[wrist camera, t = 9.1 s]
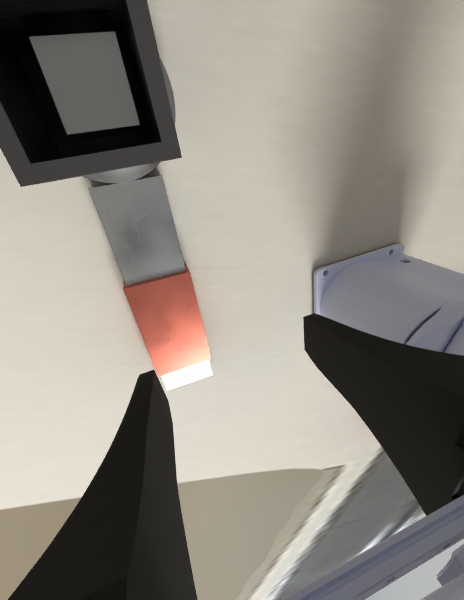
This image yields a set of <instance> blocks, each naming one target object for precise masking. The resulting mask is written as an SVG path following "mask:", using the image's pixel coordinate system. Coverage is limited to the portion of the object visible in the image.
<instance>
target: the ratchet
mask: <svg viewBox="0 0 464 600" xmlns="http://www.w3.org/2000/svg"><path fill="white" fill-rule="evenodd" d="M29 38H30V41H31V43H32V44H27V45H16V49H17V51H18V53H19V56H20V58H21V60H22V63H23V65H24V67H25V70H26V72H27V74H28V77H29V79H30V81H31V84H32V86H33V88H34V91H35V93H36V95H37V98H38V100H39V102H40V105H41V107H42V109H43V112H44V114H45V116H46V119H47V121H48V123H49V126H50V128H51V130H52V133H53V135H54V137H55V140H56V142H57V144H58V147H59V149H60V152H61V154H62V156H63V158H68V157H74V156H80V155H86V154H92V153H98V152H104V151H110V150H116V149H122V148H128V147H134V146H140V145H146V144H152V143H153V142H152V138H151V135H150V131H149V127H148V123H147V120H146V116H145V112H144V109H143V105H142V101H141V97H140V94H139V90H138V86H137V82H136V79H135V75H134V71H133V67H132V64H131V60H130V56H129V52H128V49H127V45H126V41H125V37H124V36H122V37H116V34H115V31H114V32H97V33H81V34H65V35H48V36H32V37H29ZM159 58H160V57H159ZM160 62H161V67H162V71H163V76H164V80H165V85H166V89H167V94H168V98H169V103H170V107H171V111H172V116H173V120H174V125H175V102H174V96H173V91H172V87H171V83H170V80H169V77H168V75H167V72H166V70H165V67H164V65H163V63H162V61H161V59H160ZM159 163H160V162H156V163H151V164H145V165H140V166H134V167H129V168H123V169H118V170H112V171H107V172H101V173H96V174H90V175H85V176H83V177H85V178H88V179H91V180H95V181H98V182H104V183H111V184H105V185H99V186H94V187H91V188H88V189H89V192H90V194H91V197H92V199H93V202H94V204H95V207H96V210H97V212H98V215H99V217H100V220H101V222H102V225H103V228H104V230H105V233H106V235H107V238H108V240H109V243H110V245H111V248H112V251H113V253H114V256H115V258H116V261H117V263H118V266H119V268H120V271H121V274H122V276H123V279H124V287H123V290H124V292H125V295H126V297H127V300H128V302H129V305H130V307H131V310H132V312H133V315H134V317H135V320H136V322H137V325H138V327H139V330H140V332H141V335H142V337H143V340H144V342H145V345H146V347H147V350H148V352H149V355H150V357H151V360H152V362H153V365H154V367H155V370H156V372H157V375H158V377H160V376H162V378H163V381H164V384H165V386H166V389H167V390H170V389H173V388H176V387H179V386H181V385H184V384H187V383H190V382H193V381H196V380H199V379H202V378H205V377H208V376H210V375H212V372H211V368H210V364H209V360H211V357H210V353H209V349H208V345H207V341H206V337H205V332H204V328H203V324H202V320H201V316H200V312H199V308H198V304H197V300H196V296H195V292H194V288H193V284H192V279H191V275H190V272H189V270H188V268H187V265H186V264H184V261H183V257H182V253H181V249H180V245H179V241H178V237H177V233H176V229H175V225H174V221H173V217H172V213H171V209H170V206H169V202H168V198H167V194H166V190H165V186H164V182H163V178H162V175H156V176H151V177H145V178H141V177H143V176H144V175H146V174H148V173H149V172H151V171H152V170H153V169H154V168H155V167H156V166H157V165H158V164H159ZM138 178H139V179H138Z"/></svg>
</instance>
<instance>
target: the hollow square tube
mask: <svg viewBox="0 0 464 600" xmlns="http://www.w3.org/2000/svg"><path fill="white" fill-rule="evenodd" d="M114 31H115V34H116V37H122V36H124V37H125V41H126V45H127V49H128V52H129V56H130V60H131V64H132V67H133V71H134V75H135V79H136V82H137V86H138V90H139V94H140V97H141V101H142V105H143V109H144V112H145V116H146V120H147V123H148V127H149V131H150V135H151V138H152V142H153V143H152V144H146V145H140V146H134V147H128V148H122V149H116V150H110V151H104V152H98V153H92V154H86V155H80V156H74V157H68V158H63V156H62V154H61V152H60V149H59V147H58V144H57V142H56V140H55V137H54V135H53V133H52V130H51V128H50V126H49V123H48V121H47V119H46V116H45V114H44V112H43V109H42V107H41V105H40V102H39V100H38V98H37V95H36V93H35V91H34V88H33V86H32V84H31V81H30V79H29V77H28V74H27V72H26V70H25V67H24V65H23V63H22V60H21V58H20V56H19V53H18V51H17V49H16V45H27V44H32V43H31V41H30V38H29V37H32V36H48V35H65V34H81V33H97V32H114ZM0 148H1V150H2V152H3V154H4V156H5V157H6V159H7V161H8V163H9V165H10V167H11V169H12V171H13V173H14V175H15V176H16V178H17V180H18V182H19V184H20V186H21V187H22V186H28V185H34V184H40V183H46V182H51V181H57V180H63V179H68V178H74V177H79V176H85V175H90V174H96V173H101V172H107V171H112V170H118V169H123V168H129V167H134V166H140V165H145V164H151V163H156V162H162V161H167V160H172V159H177V158H182V156H181V152H180V147H179V143H178V138H177V134H176V129H175V125H174V120H173V116H172V111H171V107H170V103H169V98H168V94H167V89H166V85H165V80H164V76H163V71H162V67H161V62H160V58H159V53H158V49H157V44H156V40H155V36H154V31H153V27H152V22H151V18H150V13H149V9H148V4H147V0H0Z"/></svg>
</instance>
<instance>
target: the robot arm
mask: <svg viewBox="0 0 464 600" xmlns="http://www.w3.org/2000/svg"><path fill="white" fill-rule="evenodd" d="M389 251H390V252H389ZM403 251H404V245H403V244H400V243H397V244H394V245H391V246H388V247H385V248H381V249H378V250H375V251H372V252H369V253H366V254H362V255H359V256H356V257H353V258H350V259H347V260H343V261H340V262H337V263H334V264H331V265H328V266H324V267H321V268H318V269H316V270H315V272H314V275H313V278H314V314H311V315H308V316H305V317H303V318H304V344H305V351H306V352H307V354H308V355H309V357H310V358H311V360H312V361H313V362H314V364H315V365H316V367H317V368H318V369H319V370H320V371H321V372H322V373H323V374H324V376H325V377H326V378H327V379H328V380H329V381H330V382H331V383H332V384H333V386H334V387H335V388H336V389H337V390H338V391H339V392H340V393H341V394H342V395H343V397H344V398H345V399H346V400H347V401H348V402H349V403H350V404H351V406H352V407H353V408H354V409H355V410H356V412H357V413H358V414H359V416H360V417H361V418H362V420H363V421H364V422H365V424H366V425H367V426H368V428H369V429H370V430H371V432H372V433H373V435H374V436H375V437H376V439H377V440H378V442H379V443H380V444H381V446H382V447H383V449H384V450H385V452H386V453H387V455H388V456H389V458H390V459H391V461H392V462H393V464H394V465H395V467H396V468H397V470H398V471H399V473H400V474H401V476H402V477H403V479H404V480H405V482H406V484H407V485H408V487H409V488H410V490H411V491H412V493H413V495H414V496H415V498H416V499H417V501H418V503H419V504H420V506H421V508H422V509H423V511H424V513H425V514H426V517H424V518H422V519H421V520H419V521H417V522H415V523H414V524H412V525H410V526H408V527H407V528H405V529H403V530H401V531H400V532H398V533H396V534H394V535H393V536H391V537H389V538H387V539H386V540H384V541H382V542H380V543H379V544H377V545H375V546H373V547H372V548H370V549H368V550H366V551H365V552H363V553H361V554H359V555H358V556H356V557H354V558H352V559H351V560H349V561H347V562H345V563H344V564H342V565H340V566H338V567H337V568H335V569H333V570H331V571H330V572H328V573H326V574H325V575H323V576H321V577H319V578H318V579H316V580H314V581H312V582H311V583H309V584H307V585H305V586H304V587H302V588H300V589H298V590H297V591H295V592H293V593H291V594H290V595H288V596H286V597H284V598H283V599H281V600H364V599H366V598H368V597H369V596H371V595H372V594H374V593H376V592H377V591H379V590H381V589H382V588H384V587H385V586H387V585H389V584H390V583H392V582H394V581H395V580H397V579H399V578H400V577H402V576H403V575H405V574H407V573H408V572H410V571H411V570H413V569H415V568H417V567H418V566H420V565H421V564H423V563H425V562H426V561H428V560H429V559H431V558H433V557H434V556H436V555H438V554H439V553H441V552H443V551H444V550H446V549H447V548H449V547H451V546H452V545H454V544H456V543H457V542H459V541H460V540H462V539H464V274H462V273H459V272H456V271H453V270H450V269H447V268H444V267H441V266H438V265H435V264H432V263H429V262H426V261H423V260H420V259H417V258H414V257H411V256H408V255H405V254H403ZM324 271H325V273H324ZM323 273H324V274H323ZM437 579H438V581H439V582H440V584H441V585H442V587H441V588H439V589H437V590H435V591H434V592H432V593H431V594H429V595H427V596H426V597H424V598H423V599H421V600H464V544H463V545H461V546H460V547H459V548H458V549H456V550H455V551H454V552H453V553H452V556H451V559H450V560H449V562H448V563H447V565H446V566H445V567H444V568H443V569H442V570H441V571H440V572H439V573H438V574H437ZM8 600H197V595H196V590H195V586H194V580H193V574H192V569H191V564H190V559H189V554H188V548H187V542H186V536H185V530H184V525H183V519H182V513H181V507H180V501H179V495H178V487H177V478H176V464H175V450H174V436H173V423H172V418H171V412H170V407H169V402H168V399H167V397H166V395H165V393H164V390H163V388H162V386H161V384H160V382H159V379H158V377H157V375H156V373H155V371H154V370H152V371H149V372H146V373H143V374H140V375H139V377H138V379H137V383H136V386H135V389H134V392H133V394H132V397H131V400H130V403H129V405H128V408H127V410H126V413H125V415H124V418H123V420H122V423H121V425H120V427H119V429H118V431H117V434H116V436H115V438H114V440H113V442H112V444H111V446H110V448H109V450H108V452H107V454H106V456H105V458H104V460H103V462H102V464H101V466H100V467H99V469H98V471H97V473H96V475H95V476H94V478H93V480H92V481H91V483H90V485H89V486H88V488H87V490H86V491H85V493H84V495H83V496H82V498H81V500H80V501H79V503H78V504H77V506H76V507H75V509H74V510H73V512H72V513H71V515H70V516H69V518H68V519H67V521H66V522H65V524H64V525H63V527H62V528H61V529H60V531H59V532H58V534H57V535H56V537H55V538H54V540H53V541H52V542H51V544H50V545H49V547H48V548H47V549H46V551H45V552H44V553H43V555H42V556H41V558H40V559H39V560H38V561H37V563H36V564H35V565H34V567H33V568H32V569H31V570H30V572H29V573H28V574H27V576H26V577H25V578H24V580H23V581H22V582H21V583H20V585H19V586H18V587H17V589H16V590H15V591H14V592H13V594H12V595H11V596H10V597H9V599H8Z"/></svg>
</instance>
